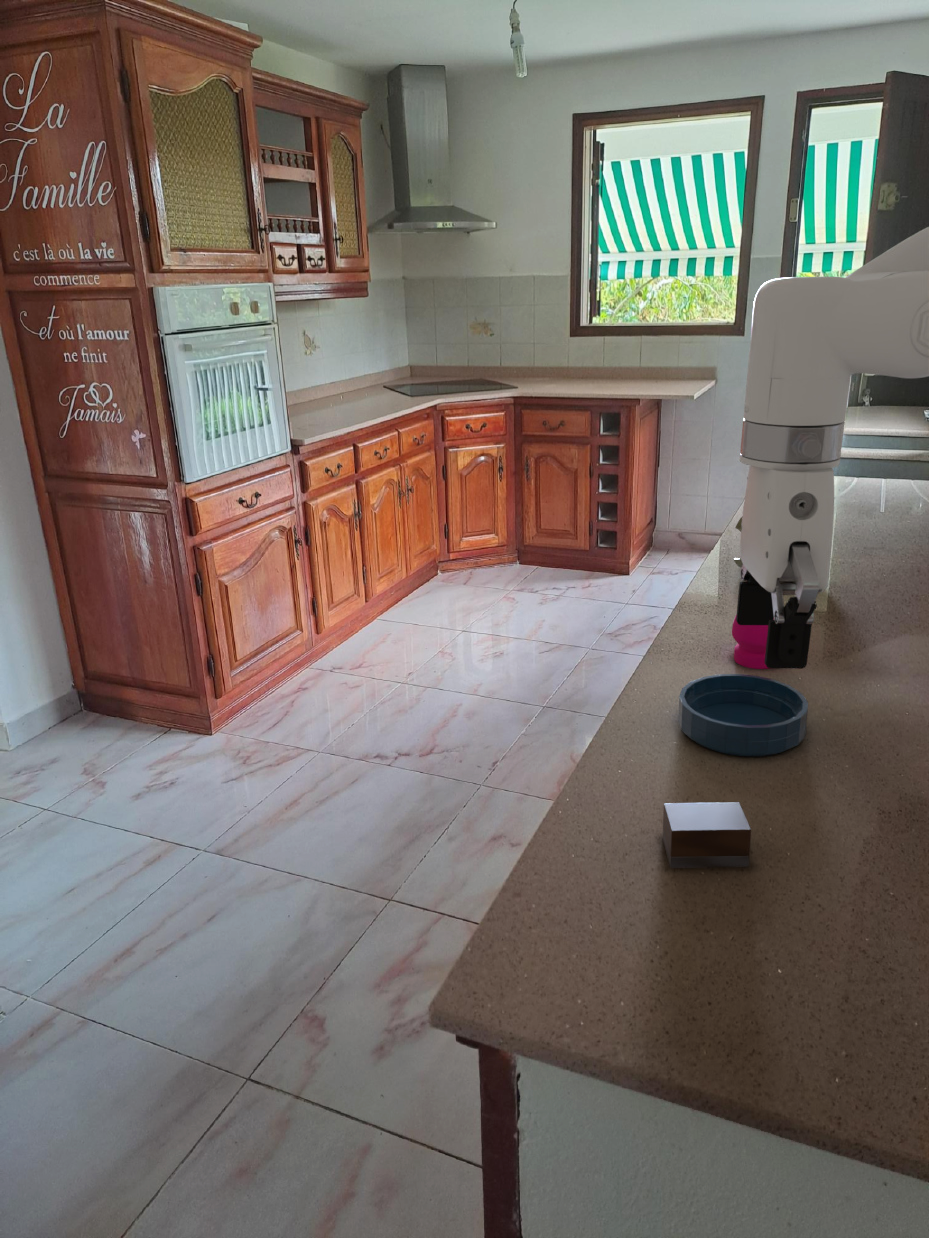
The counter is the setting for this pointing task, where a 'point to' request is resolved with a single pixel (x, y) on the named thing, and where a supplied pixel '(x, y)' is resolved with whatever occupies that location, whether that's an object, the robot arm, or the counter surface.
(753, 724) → the bowl
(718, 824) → the shiny metal block
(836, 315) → the robot arm
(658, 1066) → the counter surface
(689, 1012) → the counter surface
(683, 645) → the counter surface
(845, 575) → the counter surface
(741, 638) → the pepper mill
